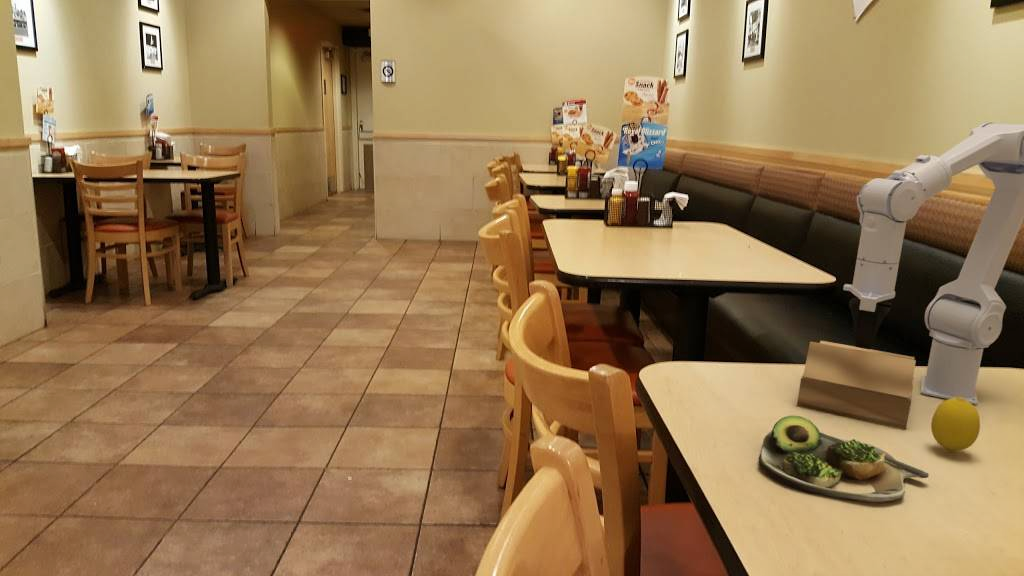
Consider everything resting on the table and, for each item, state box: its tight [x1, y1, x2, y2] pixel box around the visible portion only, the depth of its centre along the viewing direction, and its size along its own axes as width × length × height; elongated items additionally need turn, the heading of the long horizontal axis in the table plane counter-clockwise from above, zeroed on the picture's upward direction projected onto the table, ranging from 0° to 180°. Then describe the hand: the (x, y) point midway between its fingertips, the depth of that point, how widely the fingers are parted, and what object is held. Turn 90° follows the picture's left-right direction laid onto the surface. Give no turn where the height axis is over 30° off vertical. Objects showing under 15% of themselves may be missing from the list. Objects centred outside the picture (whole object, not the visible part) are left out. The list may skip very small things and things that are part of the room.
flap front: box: [802, 341, 917, 398], centre depth 110 cm, size 6×14×1 cm
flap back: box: [819, 340, 915, 360], centre depth 122 cm, size 6×14×1 cm, turn 60°
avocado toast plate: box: [758, 415, 929, 503], centre depth 93 cm, size 19×18×5 cm
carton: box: [796, 375, 914, 431], centre depth 115 cm, size 12×15×4 cm
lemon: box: [930, 397, 981, 454], centre depth 99 cm, size 6×6×8 cm
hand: (863, 347), depth 113 cm, fingers closed
